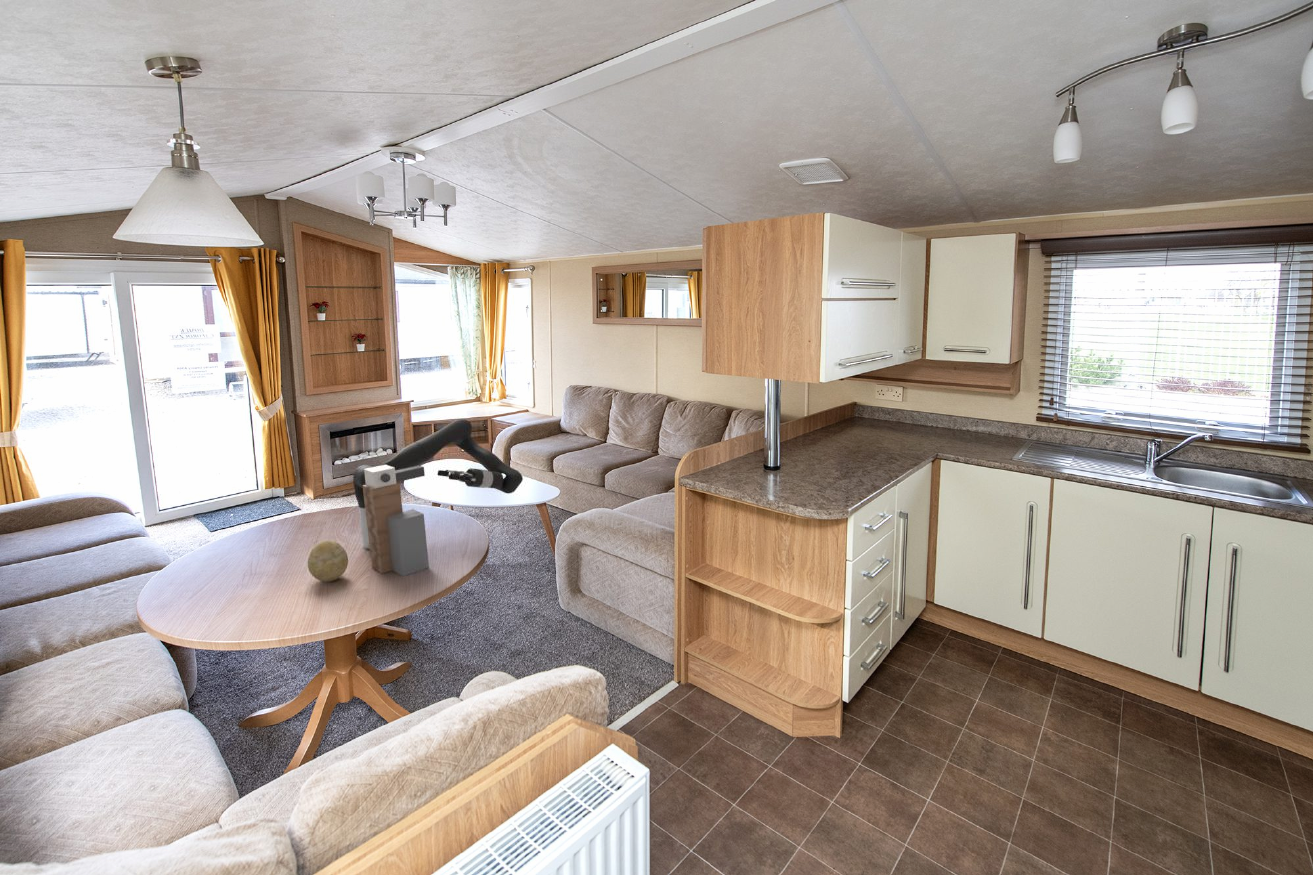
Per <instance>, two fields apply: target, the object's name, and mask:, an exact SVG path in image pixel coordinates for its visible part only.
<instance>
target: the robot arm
mask: <svg viewBox="0 0 1313 875" xmlns="http://www.w3.org/2000/svg"><path fill="white" fill-rule="evenodd" d="M472 432H473V425H472V423H471V421H469V420H467V419H464V418H458V419H455V420H453V421H452V422H450V423H449V424H447V425H446V426H443V428H441V429H439V430H438V431H435V432H433V433H431V434H429V435H427V436H424V437H423V438H421V439H418V440H417V441H414V442H412V443H410V444H408V445H407V446H405V447H404V448H402V449H401V450H400V451H398V452H397V453H396V454H395V455H394V456H393V457H392V458H390V459H389V460H387V461H385V462H383V463H381V464H378V465H376V466H375V467H377V466H382V465H388V466H391V467H394V468H395V471H396V470H400V469H405V468H410V467H414V466H421V465H422V464H424V463H426V462H428V461H429V460H431V459H432V458H434V456H435V455H437V454H439V452H440V451H441V450H442V449H444V448H445V447H446V446H448V445H449V444H451V443H452V444H454V445H455V446H456V447H458V448H459V449H461V450H463V451H464V452H465V453H467V454H468V455H469V456H471V458H473V459H474V460H476V461H477V462H478V463H479V464H480V465H481V466H483V468H485V469H480V468H471V467H470V468H468V469H467V470H465V471H463V470H460V471H459V470H449V469H445V470H444V469H443V470H441V469H438V471H437V476H438V477H446V478H448V480H454V481H458V482H460V483H461V482H462V483H464V484H465V486H467V487H471V488H480V489H486V488H487V489H495V490H498V491H499V492H502V493H504V494H512V493H515V491H516V490H517V489H518V487H519V486H520V485H521V484H522V482H523V480H524V478H523V475H522V473H521V472H520V471H519V470H516V469H515V468H513V467H512V466H510V465H508V464H506V463H505V462H503V461H502V460H501V459H500V458H499V457H498V456H497V455H496V454H495V453H493V452H492V451H490V450H488V449H486V448H484V447H482V446H480V444H478V443H477V442H476V441H475V440H474V439H473V437H472ZM372 467H374V466H372V465H370V464H362V465H359V466H357V468H356V469H355V470H354V472H353V476H352V482H353V488H354V494H355V499H356V501H357V505H358V511H359V522H360V528H361V530H360V531H361V538H362V539H361V540H362V547H363V548H364V549H366V550H370V545H369V537H368V528H367V519H366V511H365V502H364V494H363V485H366V481H365V473H364V469H367V468H372ZM503 474H504V475H505V476H503Z"/></svg>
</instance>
